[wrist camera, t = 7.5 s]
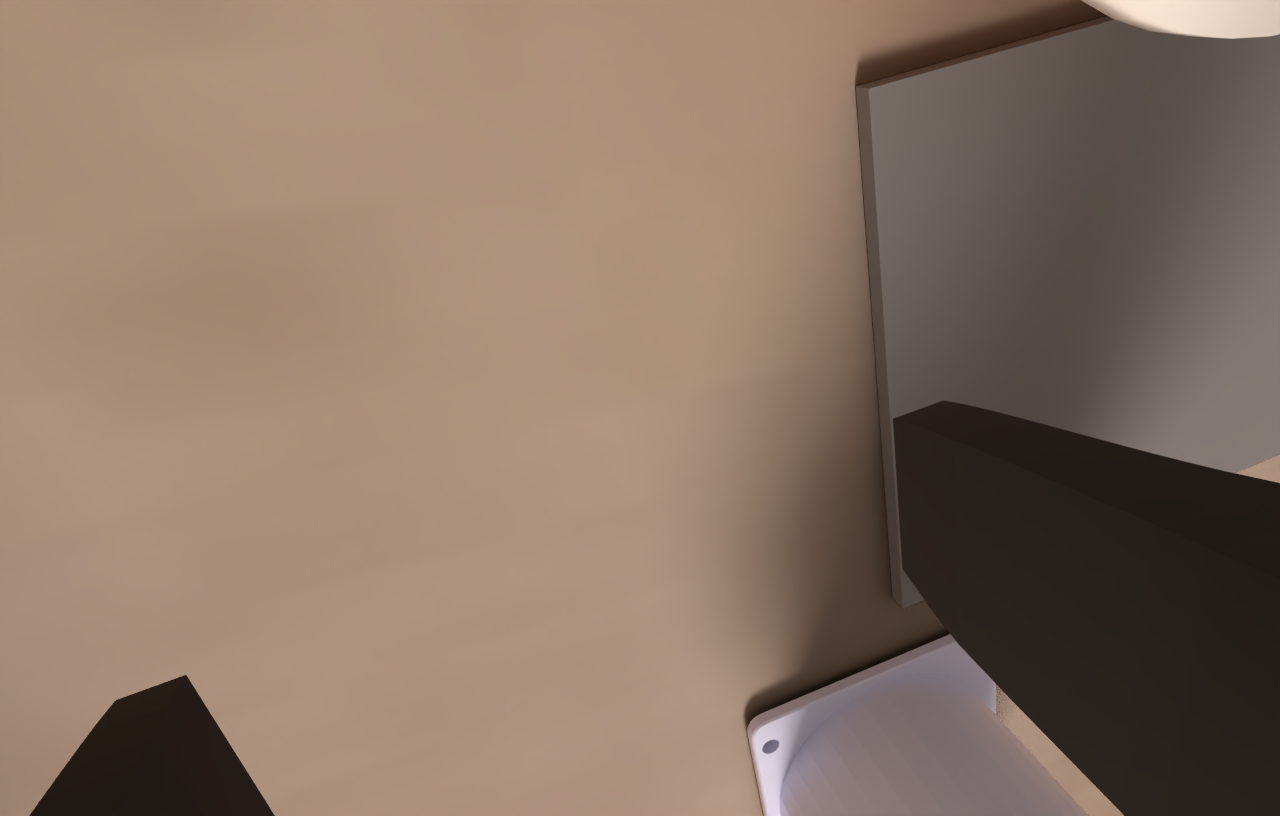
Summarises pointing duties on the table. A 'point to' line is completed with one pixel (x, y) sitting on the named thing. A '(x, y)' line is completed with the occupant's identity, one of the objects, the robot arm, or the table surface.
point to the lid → (1197, 16)
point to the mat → (1081, 242)
